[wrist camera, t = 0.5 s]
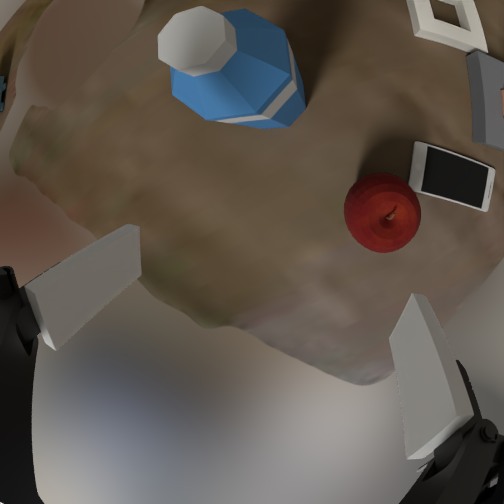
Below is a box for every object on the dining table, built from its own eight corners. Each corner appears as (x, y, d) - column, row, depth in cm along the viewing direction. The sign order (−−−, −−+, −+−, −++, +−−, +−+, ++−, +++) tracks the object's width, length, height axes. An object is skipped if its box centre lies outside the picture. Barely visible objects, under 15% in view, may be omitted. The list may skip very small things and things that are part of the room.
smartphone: (413, 140, 30) (415, 140, 29) (492, 168, 27) (495, 169, 26) (406, 188, 33) (408, 190, 32) (484, 211, 30) (487, 212, 29)
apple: (397, 238, 36) (416, 268, 27) (335, 227, 38) (339, 256, 29) (409, 175, 32) (436, 188, 23) (345, 162, 34) (353, 169, 25)
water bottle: (286, 57, 29) (228, -48, 7) (319, 113, 32) (316, 59, 10) (228, 87, 33) (104, 39, 11) (258, 141, 35) (156, 150, 13)
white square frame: (399, -22, 18) (403, -30, 15) (463, -1, 15) (470, -7, 13) (414, 35, 23) (420, 29, 20) (479, 56, 20) (488, 52, 17)
